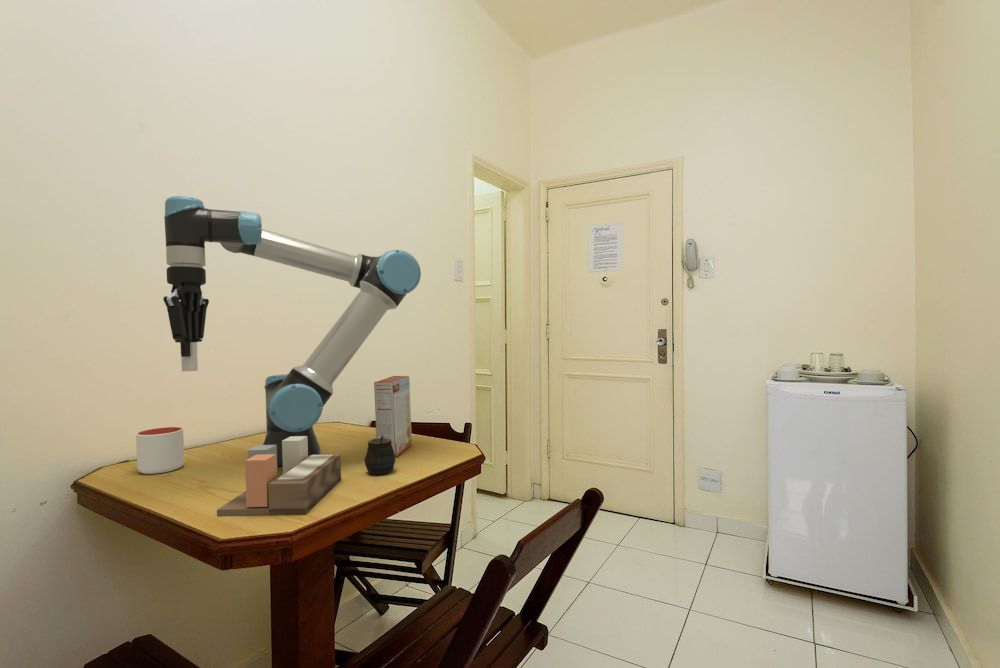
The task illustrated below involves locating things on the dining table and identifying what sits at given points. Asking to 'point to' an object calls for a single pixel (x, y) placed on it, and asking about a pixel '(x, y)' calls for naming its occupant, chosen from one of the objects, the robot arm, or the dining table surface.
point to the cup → (160, 450)
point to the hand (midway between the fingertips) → (189, 370)
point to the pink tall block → (259, 479)
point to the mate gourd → (379, 456)
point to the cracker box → (394, 412)
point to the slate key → (263, 451)
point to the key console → (293, 489)
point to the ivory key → (294, 451)
